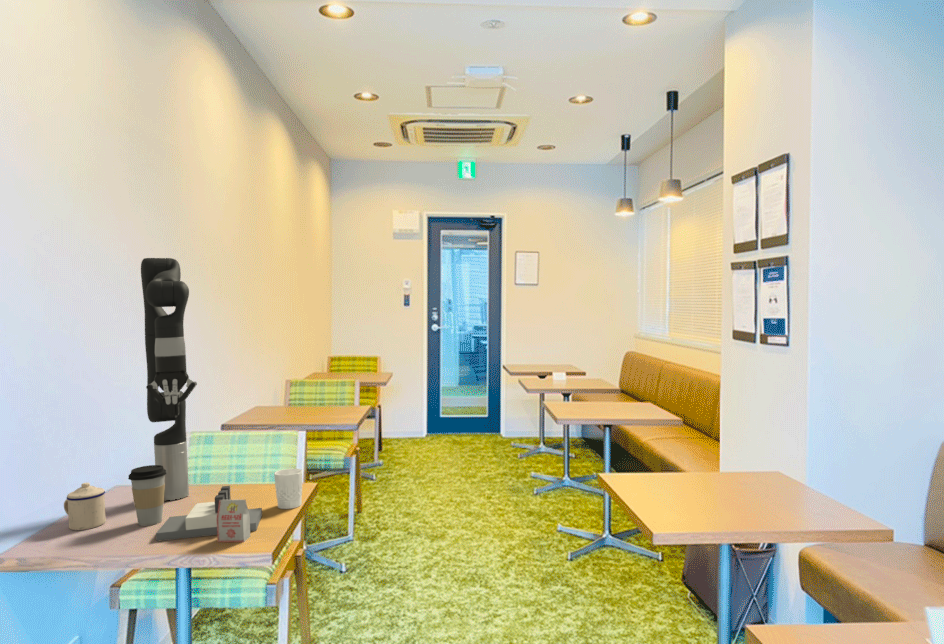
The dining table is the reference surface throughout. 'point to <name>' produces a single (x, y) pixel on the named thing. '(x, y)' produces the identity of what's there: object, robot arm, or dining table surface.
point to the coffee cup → (148, 493)
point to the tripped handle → (224, 493)
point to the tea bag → (233, 521)
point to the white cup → (288, 488)
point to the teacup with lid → (85, 507)
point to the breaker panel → (180, 527)
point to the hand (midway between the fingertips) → (173, 417)
